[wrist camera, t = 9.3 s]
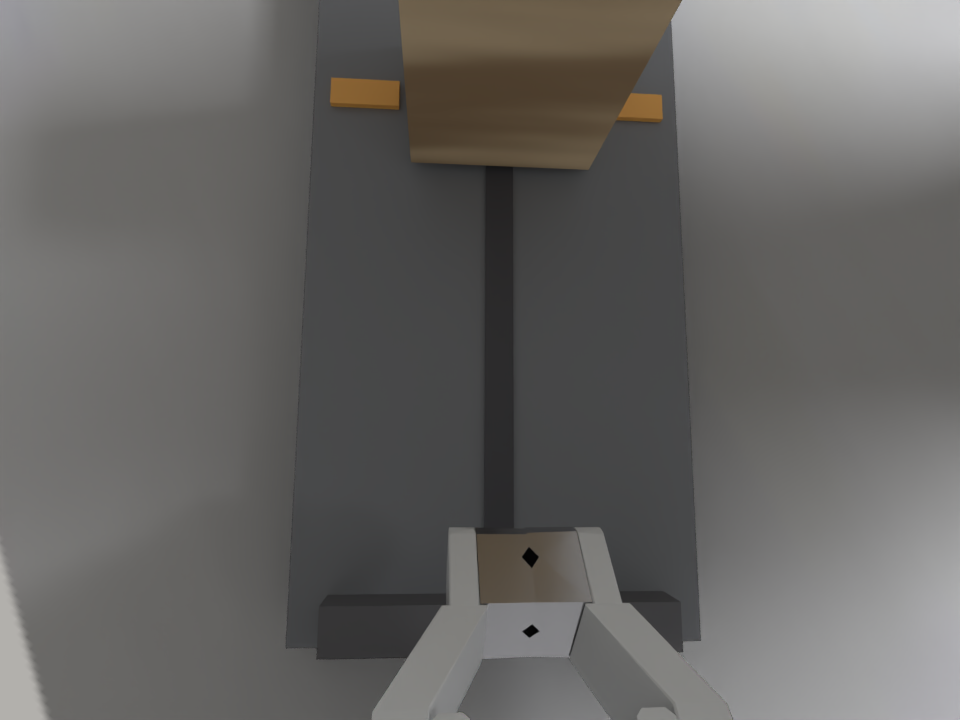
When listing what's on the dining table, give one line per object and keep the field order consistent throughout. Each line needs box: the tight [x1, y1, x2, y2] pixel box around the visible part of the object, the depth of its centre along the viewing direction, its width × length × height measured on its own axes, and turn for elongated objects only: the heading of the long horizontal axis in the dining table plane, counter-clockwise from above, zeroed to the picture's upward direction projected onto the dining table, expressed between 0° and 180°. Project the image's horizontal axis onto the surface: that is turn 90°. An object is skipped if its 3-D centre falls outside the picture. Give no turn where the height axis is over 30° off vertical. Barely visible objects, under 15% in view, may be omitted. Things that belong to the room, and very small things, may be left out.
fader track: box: [286, 0, 701, 659], centre depth 18 cm, size 25×11×3 cm, turn 0°
